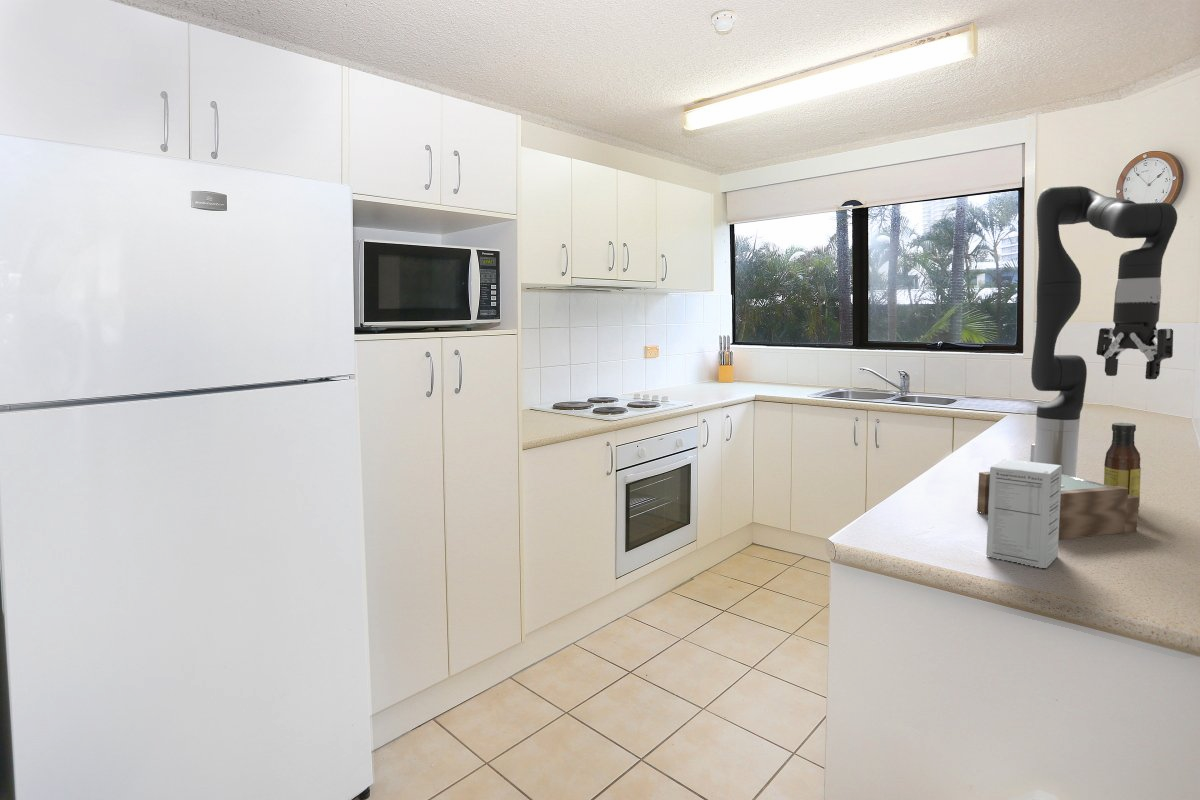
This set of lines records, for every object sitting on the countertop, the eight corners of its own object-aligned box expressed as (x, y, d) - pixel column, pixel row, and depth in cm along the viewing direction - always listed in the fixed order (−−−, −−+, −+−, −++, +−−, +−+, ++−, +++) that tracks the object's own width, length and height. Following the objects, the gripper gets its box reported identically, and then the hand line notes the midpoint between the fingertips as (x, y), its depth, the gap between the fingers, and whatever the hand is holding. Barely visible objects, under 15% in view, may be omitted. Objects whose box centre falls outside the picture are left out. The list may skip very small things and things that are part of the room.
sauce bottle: (1131, 510, 146) (1138, 422, 143) (1144, 518, 140) (1151, 426, 137) (1096, 508, 148) (1102, 421, 145) (1107, 516, 142) (1114, 425, 140)
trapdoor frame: (1051, 505, 150) (1054, 467, 149) (1136, 531, 132) (1140, 487, 131) (977, 512, 146) (979, 472, 145) (1053, 539, 128) (1056, 494, 126)
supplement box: (1059, 556, 118) (1065, 464, 117) (1046, 570, 112) (1053, 473, 110) (999, 544, 125) (1003, 457, 123) (984, 557, 119) (989, 465, 117)
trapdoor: (1054, 477, 146) (1054, 471, 146) (1115, 493, 133) (1115, 486, 133) (990, 482, 143) (990, 476, 143) (1046, 499, 129) (1046, 492, 129)
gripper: (1090, 301, 145) (1085, 375, 146) (1157, 299, 131) (1150, 381, 133) (1118, 301, 146) (1112, 374, 148) (1187, 299, 132) (1180, 379, 134)
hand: (1130, 377), depth 140 cm, fingers open, 8 cm apart
